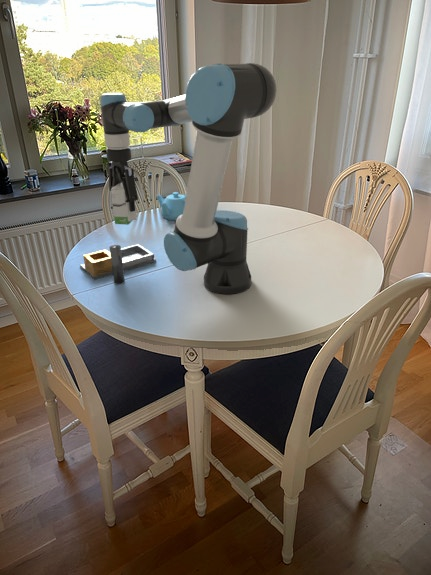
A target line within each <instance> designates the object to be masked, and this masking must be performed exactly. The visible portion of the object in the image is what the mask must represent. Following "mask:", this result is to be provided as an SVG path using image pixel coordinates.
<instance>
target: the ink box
mask: <svg viewBox="0 0 431 575" xmlns="http://www.w3.org/2000/svg"><path fill="white" fill-rule="evenodd" d="M110 192H111V201H112V202H111V203H112V210H113V218H114V219H113V220H114V224H115V225H124V226H125V225H127V226H128V225H130V224H131V223H132V222H133V221H128V217H127V208H126V202H125V201H126V200H127V198H126V195H125V190H124V188H123V185H122V182H121V183H120V184H117V185H116V186H114V187H113V188H111V191H110ZM135 211H136V212H137V205H136V204H135ZM137 217H138V215H137V214H136V218H137Z"/></svg>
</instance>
